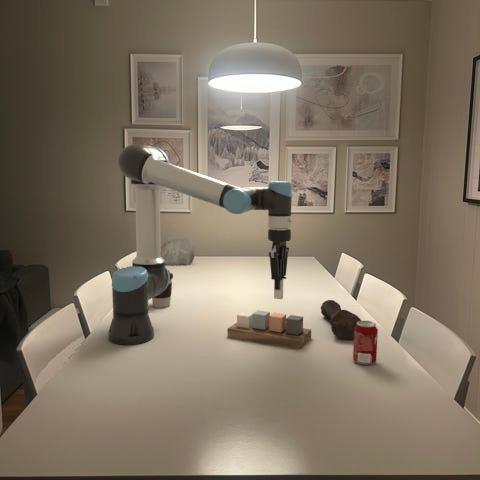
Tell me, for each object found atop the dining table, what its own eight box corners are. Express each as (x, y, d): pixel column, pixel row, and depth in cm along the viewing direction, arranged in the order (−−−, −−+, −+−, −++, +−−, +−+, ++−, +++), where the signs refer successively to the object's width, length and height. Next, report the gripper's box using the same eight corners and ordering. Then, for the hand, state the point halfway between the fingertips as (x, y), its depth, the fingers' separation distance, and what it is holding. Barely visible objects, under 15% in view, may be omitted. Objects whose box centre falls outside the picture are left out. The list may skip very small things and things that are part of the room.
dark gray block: (298, 335, 160) (298, 320, 159) (285, 333, 162) (286, 318, 161) (302, 331, 164) (303, 316, 163) (290, 329, 166) (290, 314, 165)
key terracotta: (281, 332, 163) (281, 317, 162) (269, 330, 164) (269, 316, 164) (286, 328, 167) (286, 314, 166) (273, 326, 168) (274, 312, 168)
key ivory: (248, 330, 168) (248, 316, 167) (237, 328, 170) (237, 315, 169) (253, 327, 172) (253, 313, 171) (242, 325, 174) (242, 311, 173)
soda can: (372, 368, 142) (374, 328, 140) (349, 363, 145) (351, 324, 144) (379, 360, 147) (380, 322, 146) (357, 356, 151) (358, 318, 149)
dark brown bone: (355, 348, 164) (333, 330, 192) (370, 320, 164) (345, 307, 192) (327, 333, 163) (309, 318, 191) (342, 305, 163) (322, 294, 191)
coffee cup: (168, 309, 199) (168, 273, 197) (145, 308, 201) (145, 272, 199) (176, 303, 209) (176, 268, 207) (154, 301, 211) (154, 267, 209)
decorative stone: (159, 265, 290) (163, 262, 300) (192, 266, 289) (195, 262, 299) (158, 238, 288) (162, 235, 298) (192, 238, 287) (194, 235, 297)
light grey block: (264, 329, 165) (264, 315, 164) (252, 327, 167) (253, 313, 166) (269, 326, 169) (269, 312, 168) (257, 324, 171) (258, 310, 170)
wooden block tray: (299, 349, 156) (300, 340, 156) (227, 336, 167) (227, 328, 167) (311, 337, 167) (311, 329, 167) (242, 326, 178) (242, 318, 178)
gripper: (283, 231, 153) (282, 304, 157) (296, 227, 165) (295, 295, 168) (261, 230, 156) (260, 301, 160) (276, 226, 168) (275, 292, 171)
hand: (278, 298), depth 164 cm, fingers closed
